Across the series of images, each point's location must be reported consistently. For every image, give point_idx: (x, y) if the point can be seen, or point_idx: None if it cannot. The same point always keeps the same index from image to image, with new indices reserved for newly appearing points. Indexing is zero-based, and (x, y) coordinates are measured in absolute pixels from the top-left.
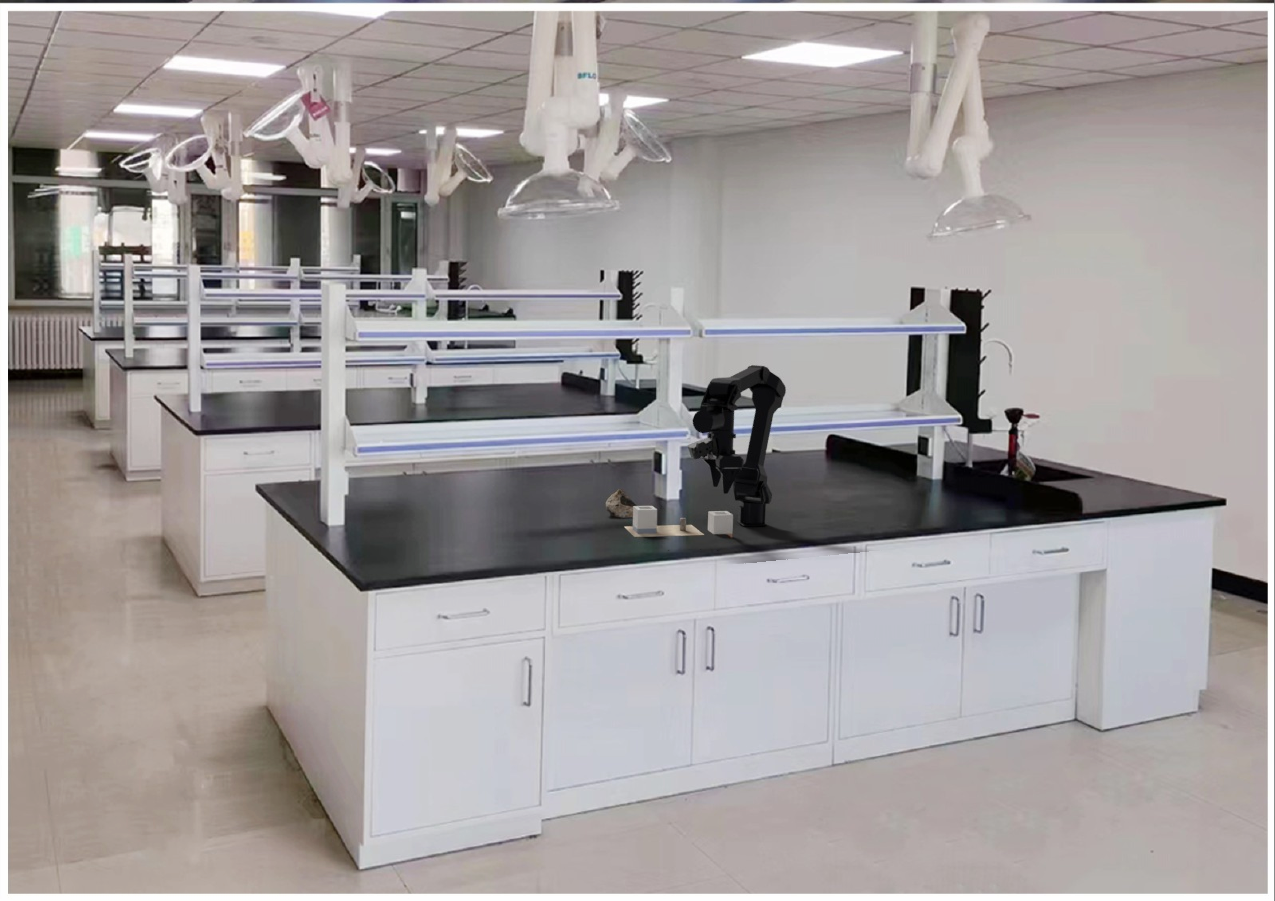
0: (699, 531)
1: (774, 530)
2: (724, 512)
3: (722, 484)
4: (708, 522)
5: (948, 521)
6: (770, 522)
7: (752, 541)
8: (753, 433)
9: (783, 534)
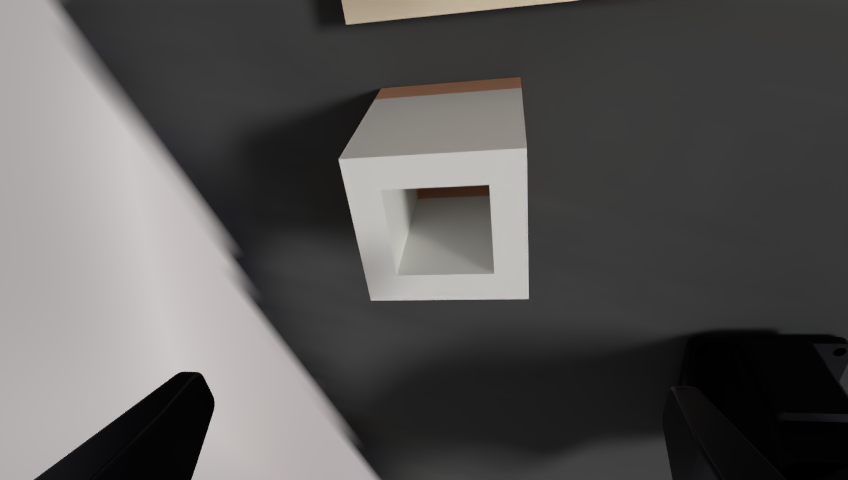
0: (468, 6)
1: (574, 423)
2: (494, 270)
3: (88, 461)
4: (508, 110)
5: None
6: None
7: (331, 283)
8: None
9: (485, 428)
